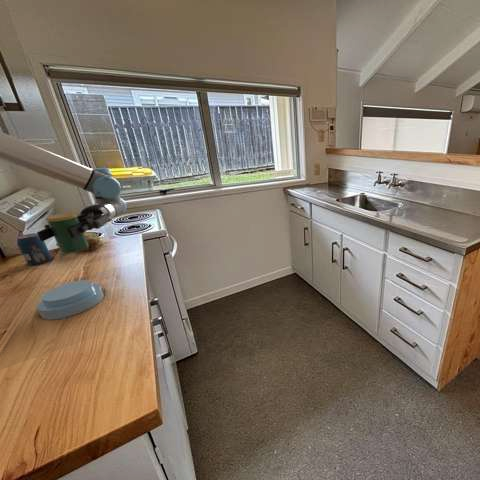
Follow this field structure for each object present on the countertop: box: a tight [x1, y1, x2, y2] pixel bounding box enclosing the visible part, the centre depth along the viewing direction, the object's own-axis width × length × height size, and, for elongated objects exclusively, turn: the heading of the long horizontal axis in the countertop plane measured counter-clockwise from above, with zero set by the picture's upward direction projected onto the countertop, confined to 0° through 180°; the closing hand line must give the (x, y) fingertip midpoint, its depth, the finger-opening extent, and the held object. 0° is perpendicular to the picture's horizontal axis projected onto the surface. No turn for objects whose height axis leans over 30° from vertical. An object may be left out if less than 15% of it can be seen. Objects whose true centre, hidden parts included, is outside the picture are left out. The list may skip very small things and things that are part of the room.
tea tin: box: [45, 211, 89, 254], centre depth 79 cm, size 7×7×11 cm
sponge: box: [80, 231, 102, 252], centre depth 118 cm, size 13×8×20 cm
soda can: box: [16, 232, 53, 266], centre depth 102 cm, size 7×7×12 cm
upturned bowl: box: [36, 279, 105, 321], centre depth 75 cm, size 14×14×5 cm
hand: (56, 235), depth 74 cm, fingers closed on tea tin, 7 cm apart
